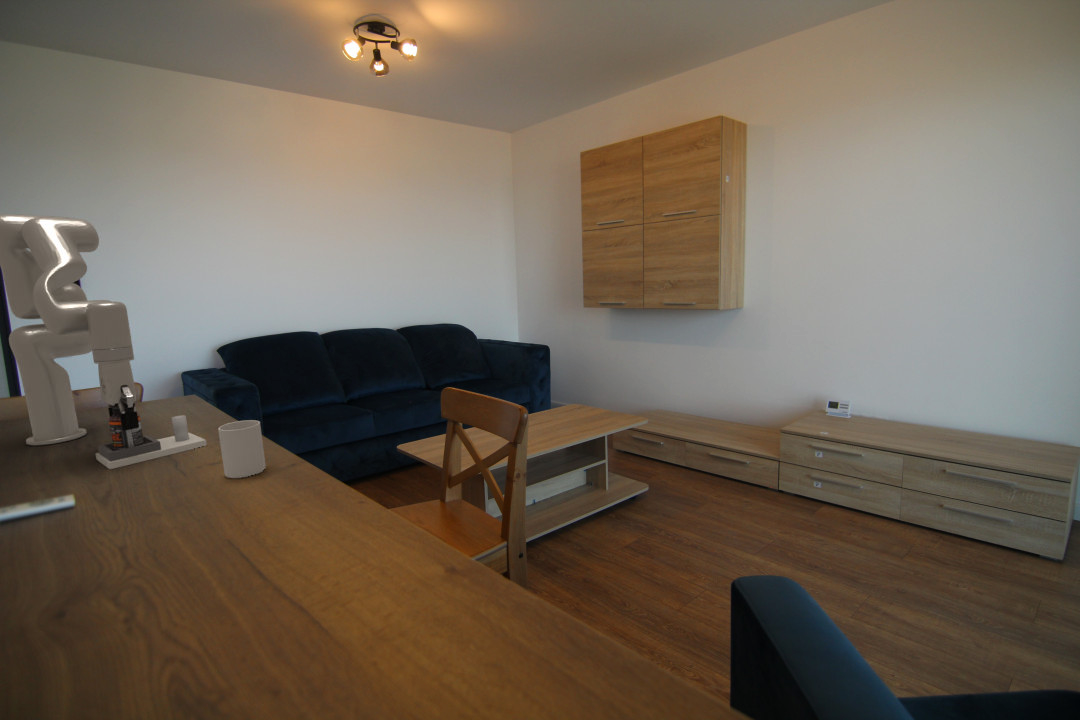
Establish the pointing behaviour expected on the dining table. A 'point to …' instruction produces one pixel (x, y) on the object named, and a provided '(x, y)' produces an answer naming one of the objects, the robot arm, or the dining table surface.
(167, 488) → the dining table surface
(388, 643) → the dining table surface
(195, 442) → the framed tray with peg
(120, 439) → the supplement bottle
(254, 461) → the mug
